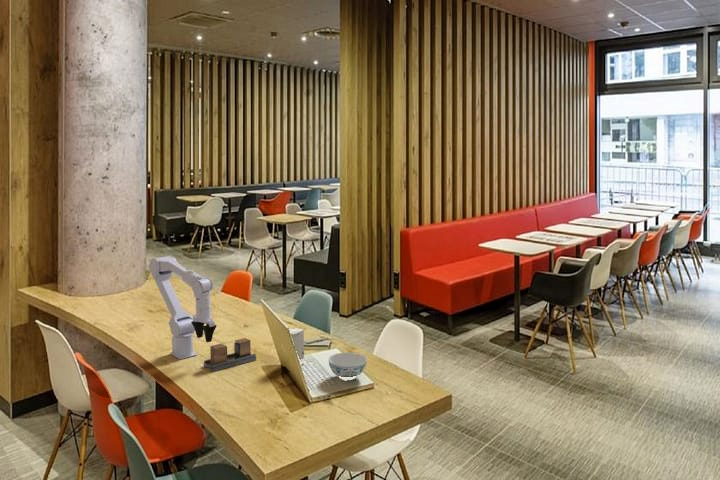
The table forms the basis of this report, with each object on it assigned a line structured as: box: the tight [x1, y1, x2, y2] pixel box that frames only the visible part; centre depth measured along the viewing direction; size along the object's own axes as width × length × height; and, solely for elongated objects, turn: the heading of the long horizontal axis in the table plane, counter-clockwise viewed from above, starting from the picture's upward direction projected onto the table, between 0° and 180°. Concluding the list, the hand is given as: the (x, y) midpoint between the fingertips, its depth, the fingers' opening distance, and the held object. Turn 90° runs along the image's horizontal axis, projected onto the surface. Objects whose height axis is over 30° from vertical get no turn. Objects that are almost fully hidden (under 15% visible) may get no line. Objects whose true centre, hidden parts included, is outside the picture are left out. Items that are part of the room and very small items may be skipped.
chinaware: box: [327, 352, 368, 377], centre depth 227 cm, size 15×15×8 cm
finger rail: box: [203, 337, 257, 373], centre depth 241 cm, size 8×20×8 cm, turn 133°
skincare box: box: [288, 327, 305, 360], centre depth 239 cm, size 8×6×15 cm
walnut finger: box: [209, 343, 228, 364], centre depth 238 cm, size 4×6×7 cm
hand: (204, 339), depth 242 cm, fingers open, 7 cm apart
